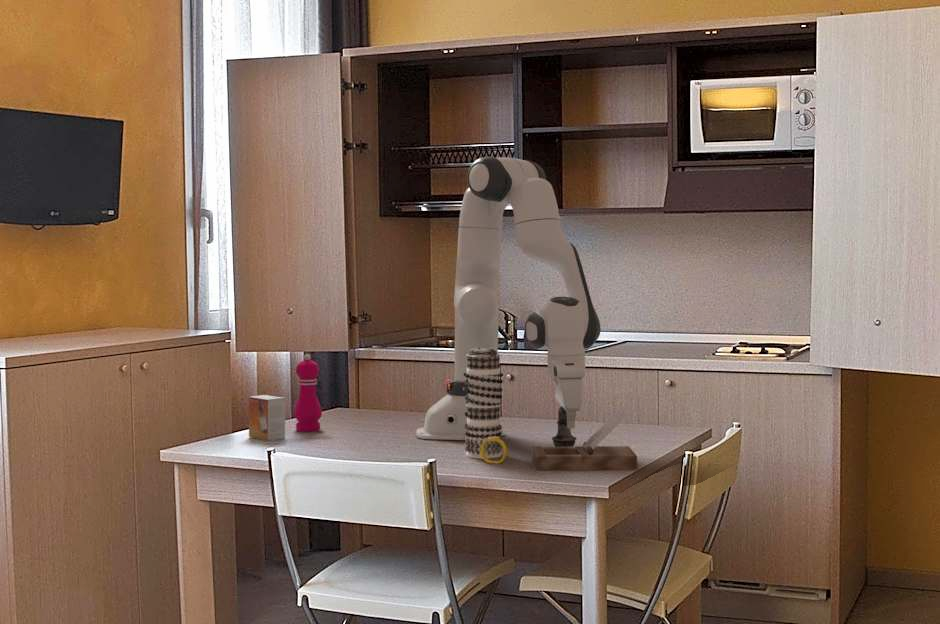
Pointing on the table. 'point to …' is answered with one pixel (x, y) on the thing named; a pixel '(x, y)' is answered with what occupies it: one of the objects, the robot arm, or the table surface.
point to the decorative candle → (483, 402)
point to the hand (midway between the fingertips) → (568, 424)
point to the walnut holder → (584, 458)
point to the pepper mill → (307, 397)
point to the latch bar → (605, 429)
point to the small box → (267, 417)
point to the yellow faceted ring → (496, 438)
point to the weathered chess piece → (563, 431)
